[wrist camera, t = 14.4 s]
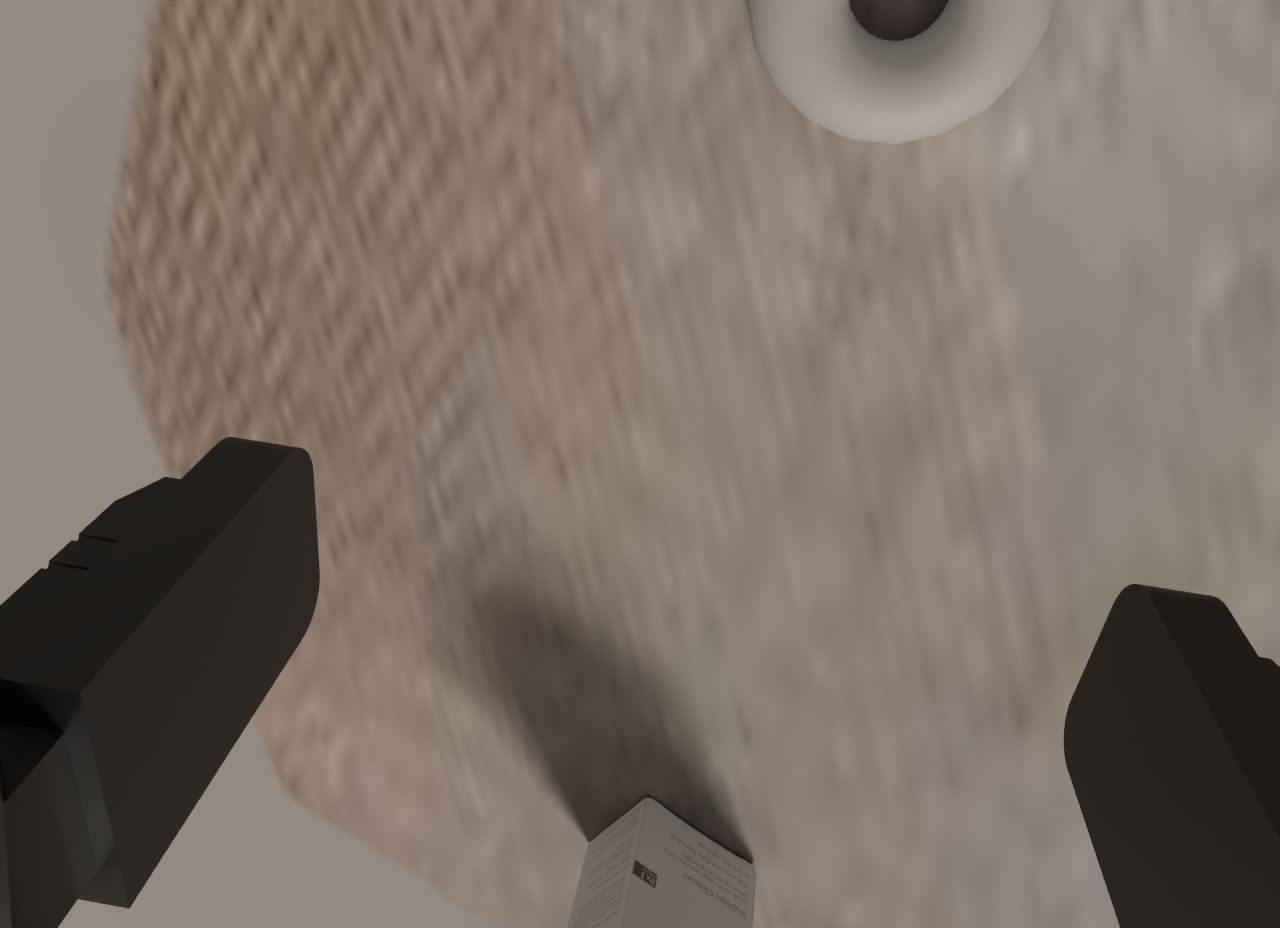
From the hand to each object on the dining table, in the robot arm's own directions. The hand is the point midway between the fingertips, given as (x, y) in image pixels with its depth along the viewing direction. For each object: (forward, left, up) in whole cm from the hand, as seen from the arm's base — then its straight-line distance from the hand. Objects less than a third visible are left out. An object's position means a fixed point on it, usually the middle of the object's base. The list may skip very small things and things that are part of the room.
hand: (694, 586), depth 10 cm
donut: (-4, -4, -31) cm, 31 cm away
